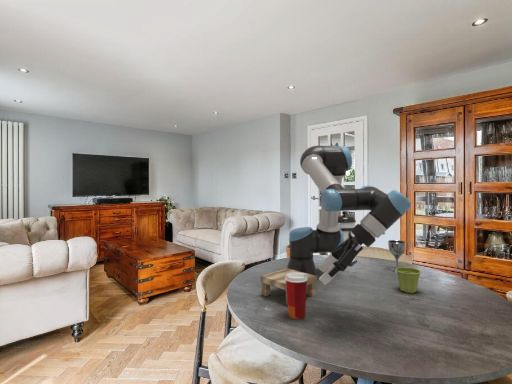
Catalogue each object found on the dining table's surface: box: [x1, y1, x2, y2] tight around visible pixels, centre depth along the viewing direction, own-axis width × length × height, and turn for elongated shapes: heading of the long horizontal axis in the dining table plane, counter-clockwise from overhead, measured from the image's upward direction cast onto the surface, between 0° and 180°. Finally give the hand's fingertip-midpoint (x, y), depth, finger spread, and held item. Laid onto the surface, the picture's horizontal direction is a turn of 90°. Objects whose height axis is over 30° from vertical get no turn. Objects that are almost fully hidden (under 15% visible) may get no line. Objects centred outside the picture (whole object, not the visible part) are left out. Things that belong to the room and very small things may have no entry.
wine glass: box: [387, 239, 406, 273], centre depth 149 cm, size 8×8×15 cm
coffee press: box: [335, 211, 358, 267], centre depth 163 cm, size 17×16×30 cm
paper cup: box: [285, 272, 308, 320], centre depth 98 cm, size 8×8×14 cm
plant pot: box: [395, 266, 422, 294], centre depth 120 cm, size 9×9×9 cm
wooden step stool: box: [260, 267, 317, 306], centre depth 117 cm, size 16×16×8 cm
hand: (321, 275), depth 96 cm, fingers open, 13 cm apart
